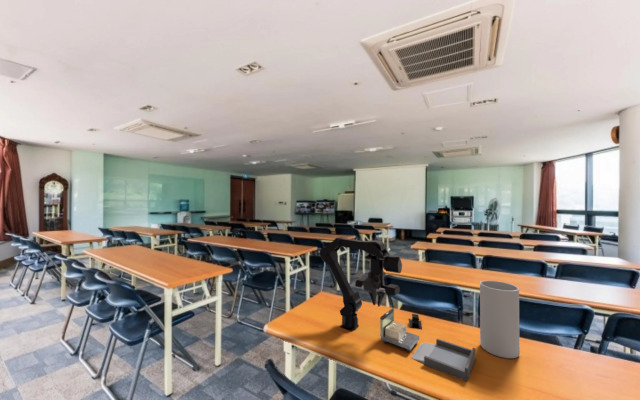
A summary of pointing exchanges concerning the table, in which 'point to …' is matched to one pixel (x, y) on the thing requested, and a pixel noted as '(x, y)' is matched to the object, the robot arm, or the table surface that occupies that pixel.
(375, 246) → the robot arm
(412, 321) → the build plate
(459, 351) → the dock
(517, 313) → the cylinder vase
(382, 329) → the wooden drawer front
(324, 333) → the table surface
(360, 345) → the table surface
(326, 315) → the table surface
